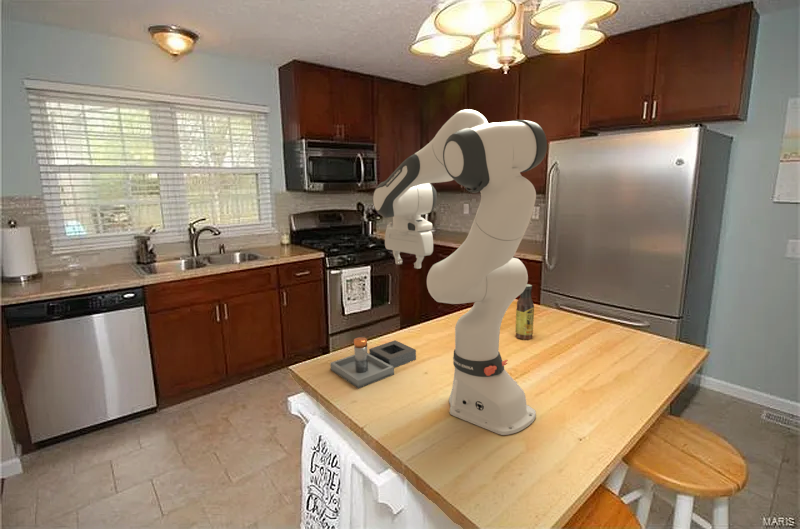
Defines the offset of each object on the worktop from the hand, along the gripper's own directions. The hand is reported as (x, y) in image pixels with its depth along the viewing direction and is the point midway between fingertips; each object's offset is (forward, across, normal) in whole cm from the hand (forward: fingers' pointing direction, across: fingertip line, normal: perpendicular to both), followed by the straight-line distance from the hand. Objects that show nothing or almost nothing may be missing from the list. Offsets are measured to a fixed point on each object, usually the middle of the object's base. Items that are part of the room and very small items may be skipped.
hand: (408, 266), depth 131 cm
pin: (+30, -1, -19) cm, 36 cm away
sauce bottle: (+31, +16, +42) cm, 55 cm away
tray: (+31, -1, -19) cm, 36 cm away
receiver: (+31, -2, -6) cm, 32 cm away
